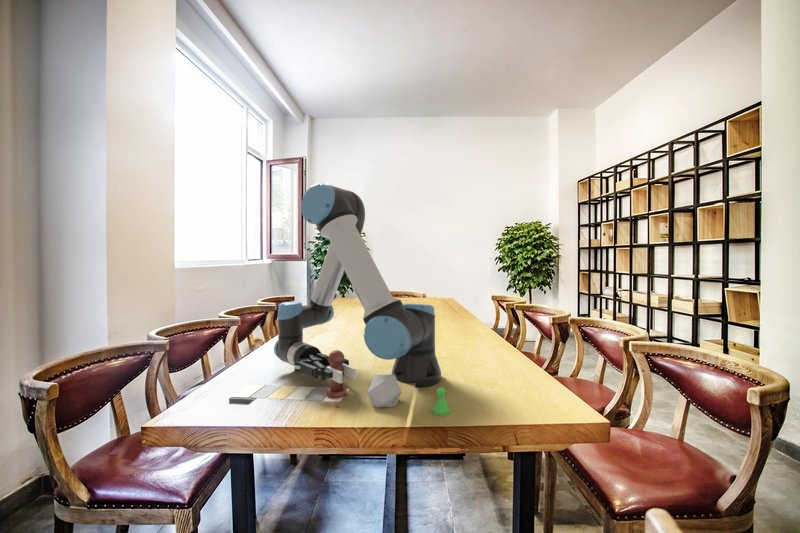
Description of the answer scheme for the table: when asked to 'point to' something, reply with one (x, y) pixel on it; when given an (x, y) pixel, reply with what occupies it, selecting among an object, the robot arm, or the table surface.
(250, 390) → the board
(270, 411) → the table surface
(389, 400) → the die
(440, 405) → the game piece
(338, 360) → the pawn
